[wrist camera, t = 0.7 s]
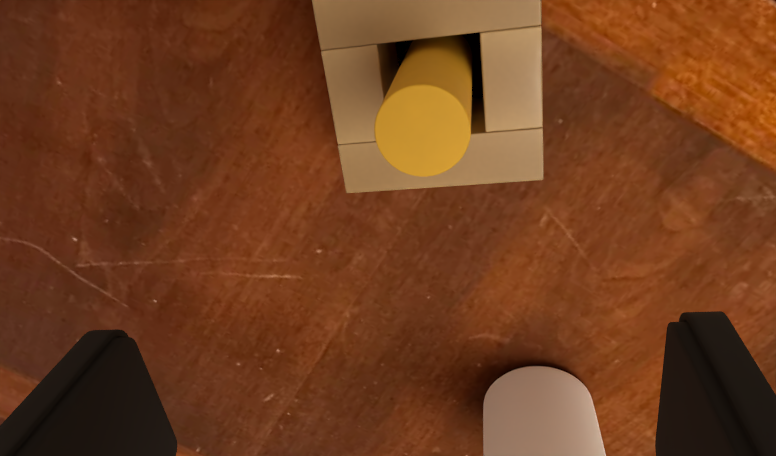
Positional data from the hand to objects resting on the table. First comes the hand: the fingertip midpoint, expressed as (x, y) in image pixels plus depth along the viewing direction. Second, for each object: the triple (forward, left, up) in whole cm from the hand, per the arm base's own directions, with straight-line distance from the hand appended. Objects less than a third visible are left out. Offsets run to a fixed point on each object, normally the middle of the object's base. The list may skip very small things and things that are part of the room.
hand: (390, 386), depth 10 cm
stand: (-1, 0, -20) cm, 20 cm away
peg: (-1, 0, -20) cm, 20 cm away
